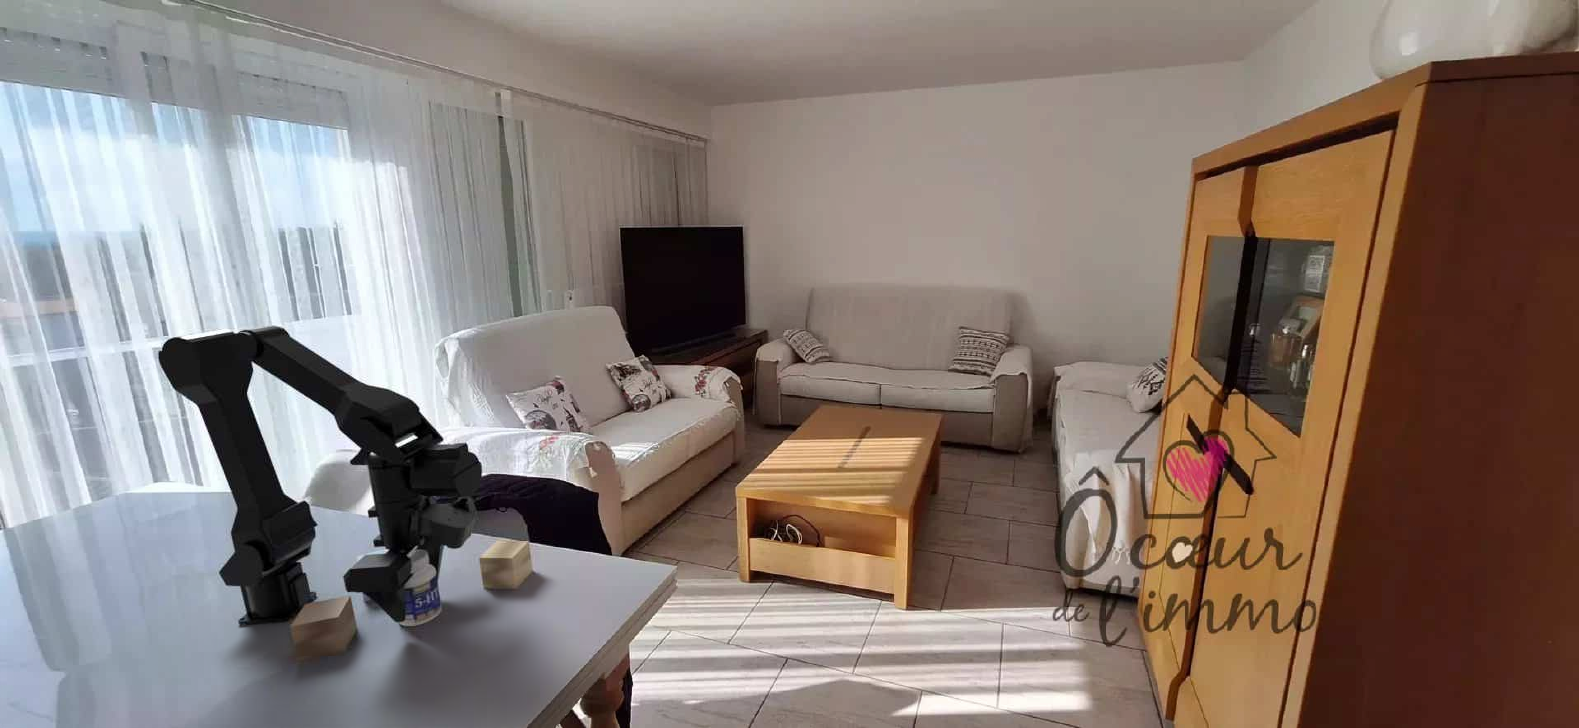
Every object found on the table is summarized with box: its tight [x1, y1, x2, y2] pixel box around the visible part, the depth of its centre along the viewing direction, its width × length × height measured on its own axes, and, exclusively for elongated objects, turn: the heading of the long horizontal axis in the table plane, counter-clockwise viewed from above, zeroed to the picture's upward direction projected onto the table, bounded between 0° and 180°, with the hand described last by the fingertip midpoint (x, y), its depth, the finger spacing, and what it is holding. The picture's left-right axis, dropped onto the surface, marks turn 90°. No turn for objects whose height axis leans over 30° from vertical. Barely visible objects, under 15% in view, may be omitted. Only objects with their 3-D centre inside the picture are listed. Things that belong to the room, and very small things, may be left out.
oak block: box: [478, 540, 534, 590], centre depth 95 cm, size 5×5×5 cm
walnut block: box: [289, 594, 358, 663], centre depth 81 cm, size 5×5×5 cm
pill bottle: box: [398, 549, 443, 627], centre depth 86 cm, size 5×5×9 cm
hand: (418, 600), depth 86 cm, fingers open, 9 cm apart
